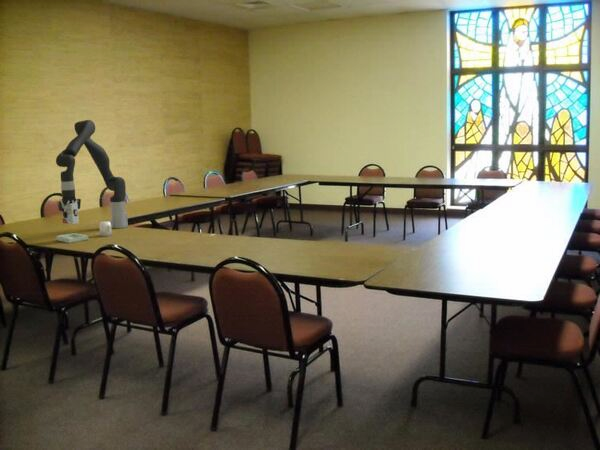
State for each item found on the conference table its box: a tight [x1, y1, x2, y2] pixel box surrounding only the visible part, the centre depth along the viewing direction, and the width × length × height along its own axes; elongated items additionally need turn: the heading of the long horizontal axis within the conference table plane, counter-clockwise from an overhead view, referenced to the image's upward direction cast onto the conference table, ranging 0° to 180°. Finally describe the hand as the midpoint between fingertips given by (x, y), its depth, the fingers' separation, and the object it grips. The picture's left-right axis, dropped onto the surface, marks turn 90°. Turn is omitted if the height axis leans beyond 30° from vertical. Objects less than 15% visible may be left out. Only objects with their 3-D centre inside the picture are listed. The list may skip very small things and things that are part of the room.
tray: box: [56, 232, 89, 244], centre depth 386 cm, size 12×16×3 cm
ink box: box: [61, 202, 80, 225], centre depth 384 cm, size 9×5×12 cm, turn 62°
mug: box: [98, 221, 113, 237], centre depth 398 cm, size 7×9×8 cm
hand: (70, 217), depth 384 cm, fingers closed on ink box, 5 cm apart
